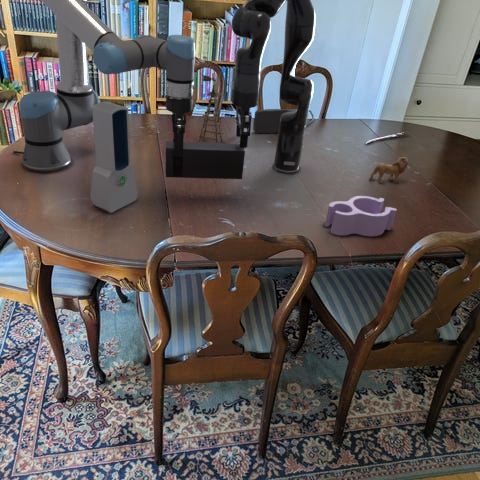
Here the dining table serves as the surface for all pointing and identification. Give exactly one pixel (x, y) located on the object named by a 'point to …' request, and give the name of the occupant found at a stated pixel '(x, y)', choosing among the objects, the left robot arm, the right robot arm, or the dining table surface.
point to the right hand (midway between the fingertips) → (241, 141)
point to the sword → (384, 137)
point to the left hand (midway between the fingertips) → (177, 171)
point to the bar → (208, 160)
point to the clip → (359, 216)
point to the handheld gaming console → (268, 120)
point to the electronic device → (112, 158)
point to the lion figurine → (391, 169)
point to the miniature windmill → (212, 94)
